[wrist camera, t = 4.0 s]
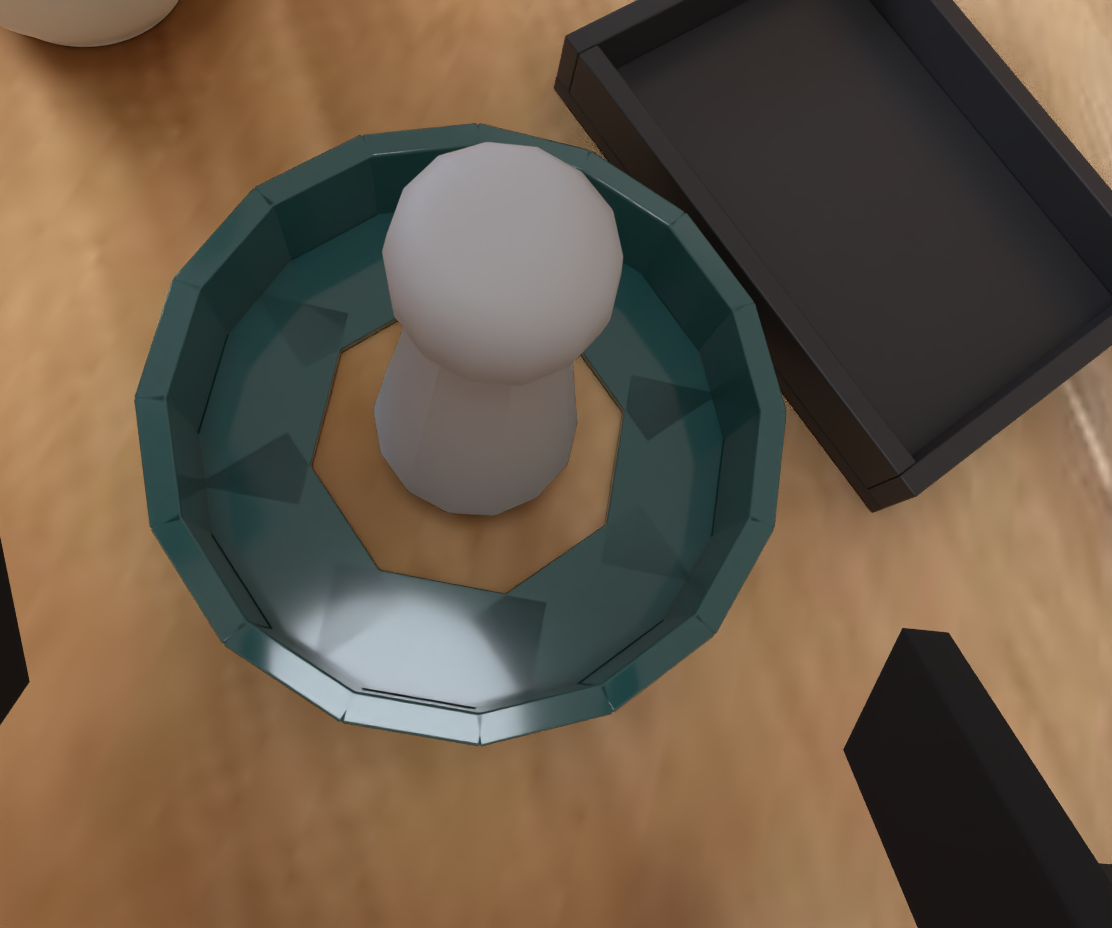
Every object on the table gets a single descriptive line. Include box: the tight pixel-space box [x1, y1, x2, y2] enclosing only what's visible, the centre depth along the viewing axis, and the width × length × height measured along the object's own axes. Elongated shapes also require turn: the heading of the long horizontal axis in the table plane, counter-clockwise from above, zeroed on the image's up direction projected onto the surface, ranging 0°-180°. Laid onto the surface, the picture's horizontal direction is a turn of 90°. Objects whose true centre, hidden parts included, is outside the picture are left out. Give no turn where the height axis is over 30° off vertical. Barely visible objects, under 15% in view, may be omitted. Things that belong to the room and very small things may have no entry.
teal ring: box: [134, 123, 786, 746], centre depth 25 cm, size 18×18×4 cm
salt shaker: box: [374, 142, 623, 516], centre depth 20 cm, size 6×6×13 cm
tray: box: [554, 0, 1112, 512], centre depth 30 cm, size 19×14×3 cm
